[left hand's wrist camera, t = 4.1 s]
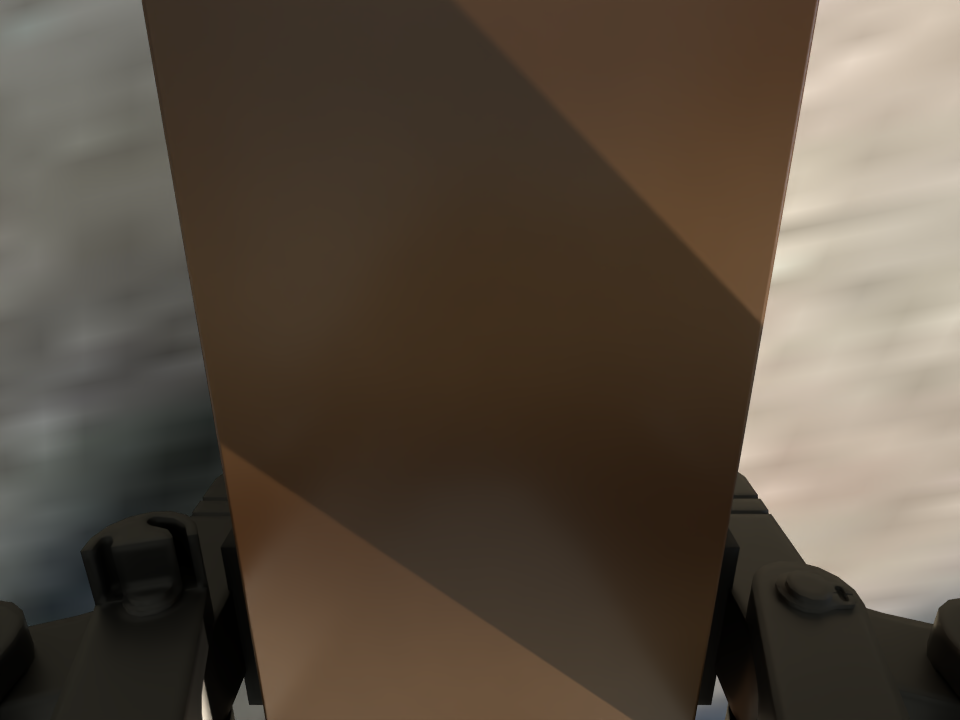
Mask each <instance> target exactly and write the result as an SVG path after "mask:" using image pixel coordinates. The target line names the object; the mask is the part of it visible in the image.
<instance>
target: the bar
mask: <svg viewBox="0 0 960 720" xmlns="http://www.w3.org/2000/svg"><path fill="white" fill-rule="evenodd" d="M142 5H143V11H144V17H145V23H146V28H147V34H148V40H149V46H150V52H151V57H152V63H153V69H154V75H155V81H156V86H157V92H158V98H159V104H160V110H161V115H162V121H163V127H164V133H165V139H166V144H167V150H168V156H169V162H170V168H171V173H172V179H173V185H174V191H175V197H176V202H177V208H178V214H179V220H180V226H181V231H182V237H183V243H184V249H185V255H186V261H187V266H188V272H189V278H190V284H191V290H192V295H193V301H194V307H195V313H196V319H197V324H198V330H199V336H200V342H201V348H202V353H203V359H204V365H205V371H206V377H207V382H208V388H209V394H210V400H211V406H212V411H213V417H214V423H215V429H216V435H217V440H218V446H219V452H220V458H221V464H222V469H223V475H224V481H225V487H226V493H227V498H228V504H229V510H230V516H231V522H232V527H233V533H234V539H235V545H236V551H237V556H238V562H239V568H240V574H241V580H242V585H243V591H244V597H245V603H246V609H247V614H248V620H249V626H250V632H251V638H252V643H253V649H254V655H255V661H256V667H257V672H258V678H259V684H260V690H261V696H262V702H263V707H264V713H265V719H266V720H695V716H696V711H697V705H698V699H699V693H700V688H701V682H702V676H703V670H704V664H705V659H706V653H707V647H708V641H709V635H710V630H711V624H712V618H713V612H714V607H715V601H716V595H717V589H718V583H719V578H720V572H721V566H722V560H723V555H724V549H725V543H726V537H727V531H728V526H729V520H730V514H731V508H732V502H733V497H734V491H735V485H736V479H737V474H738V468H739V462H740V456H741V450H742V445H743V439H744V433H745V427H746V421H747V416H748V410H749V404H750V398H751V393H752V387H753V381H754V375H755V369H756V364H757V358H758V352H759V346H760V341H761V335H762V329H763V323H764V317H765V312H766V306H767V300H768V294H769V288H770V283H771V277H772V271H773V265H774V260H775V254H776V248H777V242H778V236H779V231H780V225H781V219H782V213H783V207H784V202H785V196H786V190H787V184H788V179H789V173H790V167H791V161H792V155H793V150H794V144H795V138H796V132H797V126H798V121H799V115H800V109H801V103H802V98H803V92H804V86H805V80H806V74H807V69H808V63H809V57H810V51H811V46H812V40H813V34H814V28H815V22H816V17H817V11H818V5H819V0H142Z"/></svg>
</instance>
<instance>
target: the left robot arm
mask: <svg viewBox="0 0 960 720" xmlns="http://www.w3.org/2000/svg"><path fill="white" fill-rule="evenodd" d="M80 552H81V555H82V559H83V562H84V566H85V569H86V573H87V576H88V580H89V583H90V587H91V590H92V594H93V598H94V601H95V605H96V606H95V608H94V611H92V612H89V613H85V614H82V615H78V616H74V617H70V618H65V619H61V620H56V621H52V622H47V623H43V624H38V625H34V626H29V627H28V625H27V622H26V619H25V617H24V614H23V611H22V610H21V609H20V608H19V607H17V606H16V605H15V604H14V603H12V602H5V601H0V720H235V718H234V712H233V707H232V705H233V703H234V700H235V698H236V695H237V693H238V690H239V688H240V686H241V683H242V681H243V678H244V679H245V684H246V690H247V695H248V700H249V705H263V702H262V696H261V690H260V684H259V678H258V672H257V667H256V661H255V655H254V649H253V643H252V638H251V632H250V626H249V620H248V614H247V609H246V603H245V597H244V591H243V585H242V580H241V574H240V568H239V562H238V556H237V551H236V545H235V539H234V533H233V527H232V522H231V516H230V510H229V504H228V498H227V493H226V487H225V481H224V475H223V474H222V475H221V476H219V477H218V478H216V479H215V481H214V482H213V484H212V485H211V486H210V488H209V489H208V491H207V492H206V494H205V495H204V497H203V501H200V502H199V504H198V505H197V507H196V508H195V509H194V511H193V512H192V516H190V517H189V516H187V515H185V514H180V513H176V512H172V511H163V512H149V513H144V514H140V515H136V516H131V517H128V518H126V519H124V520H121V521H119V522H117V523H114V524H112V525H110V526H108V527H106V528H105V529H103V530H102V531H100V532H99V533H98V534H96V535H95V536H93V537H92V538H91V539H90V540H89V541H88V543H87V544H86V545H85V546H84V548H83V549H82V550H81V551H80ZM716 675H717V677H718V679H719V681H720V684H721V686H722V689H723V691H724V694H725V696H726V698H727V701H728V707H727V712H726V717H725V720H960V598H958V599H952V600H948V601H947V602H946V603H944V604H943V605H942V606H941V607H940V608H939V609H938V612H937V615H936V618H935V621H934V624H930V623H925V622H921V621H916V620H912V619H907V618H903V617H898V616H894V615H889V614H885V613H881V612H878V611H874V610H871V609H867V608H866V607H865V605H864V603H863V602H862V600H861V599H860V597H859V596H858V594H857V593H856V591H855V590H854V589H853V588H851V587H850V586H849V585H848V584H846V583H845V582H844V581H843V580H841V579H840V578H839V577H837V576H835V575H833V574H831V573H829V572H827V571H825V570H823V569H821V568H819V567H815V566H811V565H808V564H806V563H805V562H804V560H803V559H802V557H801V556H800V555H799V553H798V552H797V550H796V549H795V547H794V546H793V545H792V543H791V542H790V540H789V539H788V537H787V536H786V535H785V533H784V532H783V530H782V529H781V528H780V526H779V525H778V523H777V522H776V520H775V519H774V518H773V516H772V515H771V514H769V513H768V509H767V508H766V506H765V505H764V503H763V502H762V500H761V499H758V495H757V493H756V492H755V490H754V489H753V488H752V486H751V485H750V483H749V482H748V480H747V479H746V478H745V477H744V476H743V475H742V474H740V473H739V472H738V474H737V479H736V485H735V491H734V497H733V502H732V508H731V514H730V520H729V526H728V531H727V537H726V543H725V549H724V555H723V560H722V566H721V572H720V578H719V583H718V589H717V595H716V601H715V607H714V612H713V618H712V624H711V630H710V635H709V641H708V647H707V653H706V659H705V664H704V670H703V676H702V682H701V688H700V693H699V699H698V705H711V703H712V697H713V692H714V686H715V681H716Z"/></svg>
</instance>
